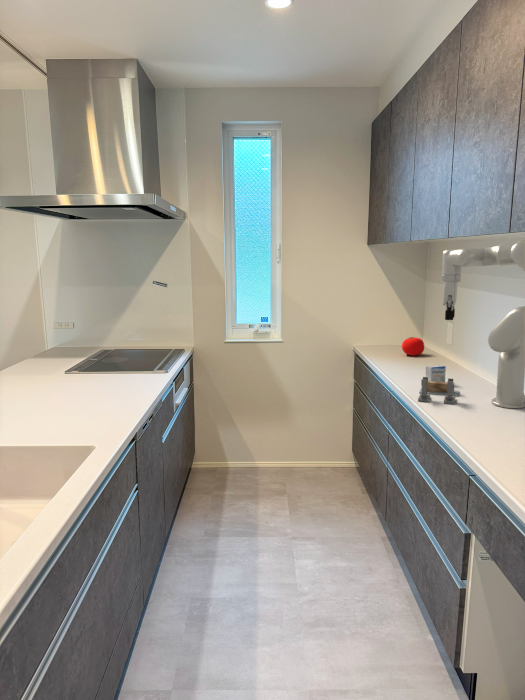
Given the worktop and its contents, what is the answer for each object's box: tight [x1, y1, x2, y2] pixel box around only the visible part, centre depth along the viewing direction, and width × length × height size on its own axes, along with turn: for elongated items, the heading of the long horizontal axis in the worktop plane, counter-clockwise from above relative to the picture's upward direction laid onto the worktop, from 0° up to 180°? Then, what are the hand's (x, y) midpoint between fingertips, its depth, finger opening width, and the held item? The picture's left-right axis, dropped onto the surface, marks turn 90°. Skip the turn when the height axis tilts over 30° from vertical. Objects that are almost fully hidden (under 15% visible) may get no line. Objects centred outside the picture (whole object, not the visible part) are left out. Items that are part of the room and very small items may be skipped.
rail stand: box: [417, 376, 456, 405], centre depth 198 cm, size 14×8×9 cm, turn 66°
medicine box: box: [425, 364, 447, 382], centre depth 225 cm, size 8×4×9 cm, turn 105°
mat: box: [418, 387, 460, 397], centre depth 210 cm, size 16×8×1 cm, turn 66°
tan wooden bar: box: [427, 381, 455, 393], centre depth 210 cm, size 12×3×4 cm, turn 65°
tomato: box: [401, 336, 425, 357], centre depth 295 cm, size 12×14×11 cm
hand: (449, 318), depth 207 cm, fingers open, 9 cm apart
